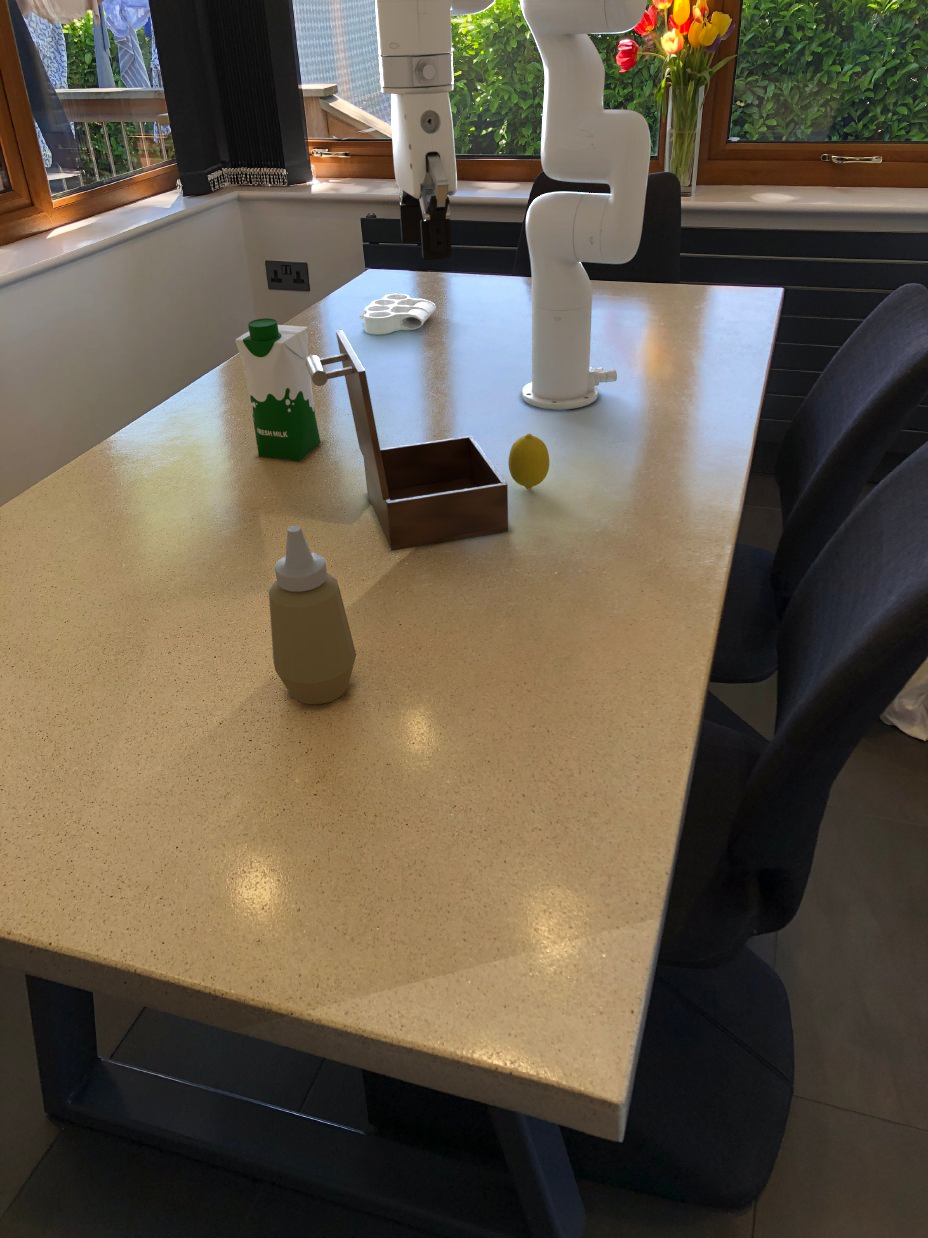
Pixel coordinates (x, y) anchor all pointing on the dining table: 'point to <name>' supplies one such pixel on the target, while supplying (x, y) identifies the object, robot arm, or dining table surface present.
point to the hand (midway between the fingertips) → (425, 249)
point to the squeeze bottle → (309, 625)
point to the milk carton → (279, 389)
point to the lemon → (528, 461)
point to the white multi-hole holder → (396, 314)
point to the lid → (354, 404)
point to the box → (438, 493)
